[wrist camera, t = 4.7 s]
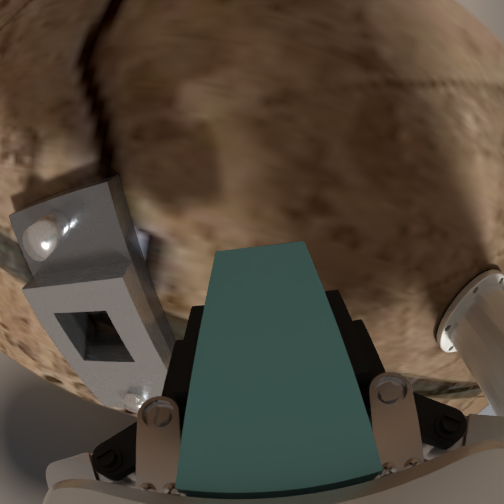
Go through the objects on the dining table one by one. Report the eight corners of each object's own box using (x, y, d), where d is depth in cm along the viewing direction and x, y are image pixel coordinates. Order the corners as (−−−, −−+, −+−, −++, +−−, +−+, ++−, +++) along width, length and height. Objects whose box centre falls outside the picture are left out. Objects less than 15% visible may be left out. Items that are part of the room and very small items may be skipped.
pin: (304, 240, 12) (383, 470, 3) (306, 309, 14) (348, 500, 5) (215, 251, 12) (175, 489, 4) (230, 318, 14) (220, 512, 5)
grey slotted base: (119, 174, 17) (84, 196, 12) (194, 380, 27) (190, 418, 23) (22, 206, 17) (-14, 231, 12) (112, 379, 27) (102, 412, 23)
